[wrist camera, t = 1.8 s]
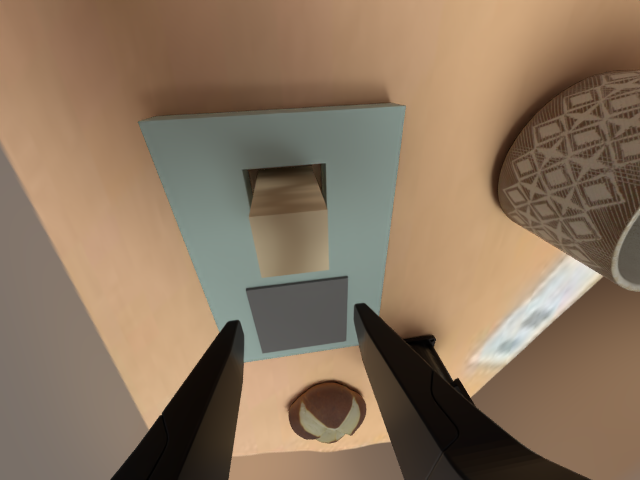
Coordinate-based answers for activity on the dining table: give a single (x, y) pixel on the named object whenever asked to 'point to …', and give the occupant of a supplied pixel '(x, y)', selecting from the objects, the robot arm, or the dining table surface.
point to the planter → (582, 175)
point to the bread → (327, 412)
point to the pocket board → (235, 202)
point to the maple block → (289, 222)
